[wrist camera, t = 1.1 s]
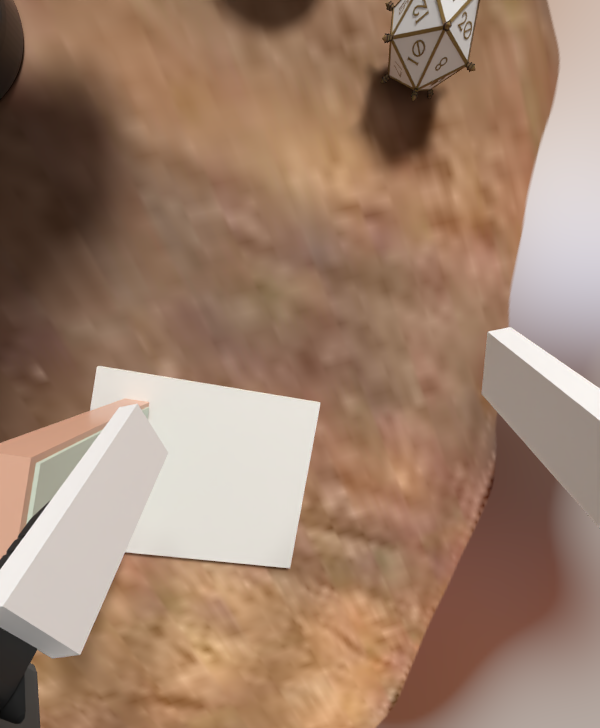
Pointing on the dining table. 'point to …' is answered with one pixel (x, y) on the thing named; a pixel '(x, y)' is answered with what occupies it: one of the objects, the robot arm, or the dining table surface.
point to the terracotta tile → (45, 465)
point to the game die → (429, 41)
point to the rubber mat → (219, 468)
